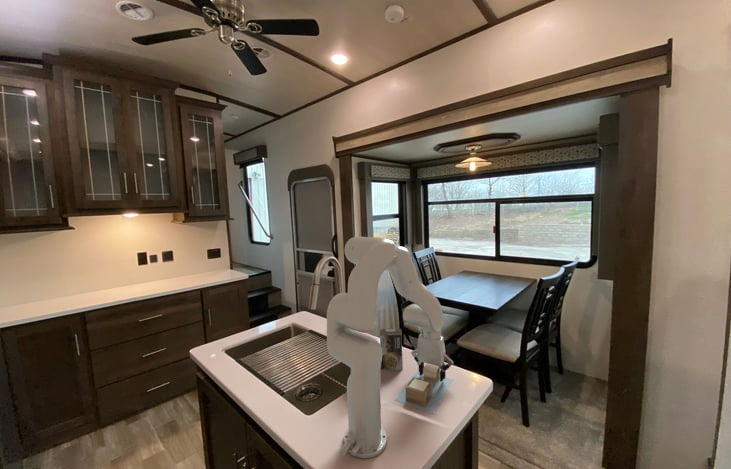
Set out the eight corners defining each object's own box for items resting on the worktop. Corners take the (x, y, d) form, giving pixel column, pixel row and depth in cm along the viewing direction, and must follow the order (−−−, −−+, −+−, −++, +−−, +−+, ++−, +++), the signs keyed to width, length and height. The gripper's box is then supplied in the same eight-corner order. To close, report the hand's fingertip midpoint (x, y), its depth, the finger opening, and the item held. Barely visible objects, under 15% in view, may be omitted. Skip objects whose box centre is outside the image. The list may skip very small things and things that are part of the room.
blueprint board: (433, 417, 92) (433, 399, 91) (394, 402, 99) (394, 386, 99) (452, 381, 110) (452, 366, 110) (418, 371, 118) (418, 357, 117)
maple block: (436, 384, 107) (435, 371, 107) (423, 380, 110) (423, 368, 109) (440, 377, 111) (440, 365, 111) (428, 374, 114) (427, 362, 113)
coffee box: (402, 364, 124) (401, 328, 122) (402, 372, 117) (401, 334, 116) (381, 363, 125) (380, 328, 123) (380, 372, 118) (379, 334, 117)
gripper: (406, 332, 110) (407, 375, 112) (451, 341, 101) (451, 388, 102) (413, 325, 117) (414, 366, 118) (456, 333, 107) (457, 378, 109)
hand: (431, 376), depth 110 cm, fingers open, 7 cm apart
